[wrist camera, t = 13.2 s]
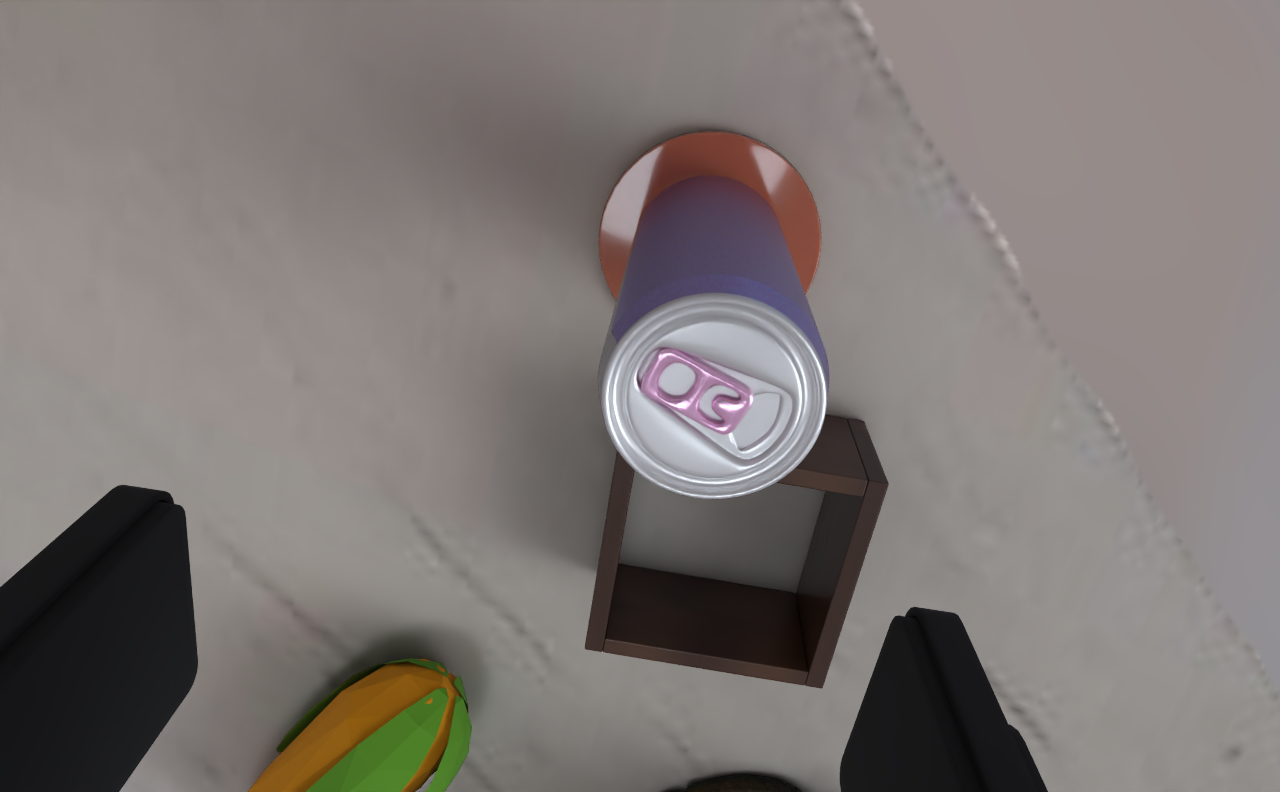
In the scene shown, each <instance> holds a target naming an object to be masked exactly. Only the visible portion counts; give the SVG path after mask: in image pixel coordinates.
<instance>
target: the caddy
mask: <svg viewBox="0 0 1280 792" xmlns="http://www.w3.org/2000/svg"><path fill="white" fill-rule="evenodd" d="M633 476H634V469H633V468H632V467H631V466H630V465H629V464H628V463H627V462H626V461H625V460H624V458H623V457H622V456H621V455H620V453H619V452H618V450H617V454H616V460H615V466H614V472H613V479H612V485H611V491H610V497H609V503H608V509H607V515H606V521H605V527H604V533H603V539H602V546H601V552H600V558H599V564H598V570H597V576H596V582H595V588H594V594H593V600H592V606H591V612H590V619H589V625H588V631H587V637H586V643H585V649H587V650H593V651H599V652H602V651H603V652H605V653H611V654H617V655H623V656H630V657H636V658H642V659H648V660H654V661H660V662H666V663H672V664H678V665H684V666H690V667H696V668H702V669H708V670H714V671H720V672H726V673H732V674H738V675H744V676H750V677H756V678H762V679H769V680H775V681H781V682H787V683H793V684H799V685H806V686H810V687H816V688H823V685H824V682H825V679H826V676H827V672H828V669H829V666H830V663H831V660H832V657H833V654H834V651H835V648H836V645H837V642H838V639H839V636H840V632H841V629H842V626H843V623H844V620H845V617H846V614H847V611H848V608H849V605H850V602H851V599H852V595H853V592H854V589H855V586H856V583H857V580H858V577H859V574H860V571H861V568H862V565H863V562H864V559H865V555H866V552H867V549H868V546H869V543H870V540H871V537H872V534H873V531H874V528H875V525H876V522H877V519H878V515H879V512H880V509H881V506H882V503H883V500H884V497H885V494H886V491H887V488H888V485H889V484H888V481H887V479H886V476H885V473H884V471H883V468H882V466H881V463H880V461H879V458H878V456H877V453H876V451H875V448H874V445H873V443H872V440H871V438H870V435H869V433H868V430H867V428H866V425H865V423H864V421H859V420H853V419H846V418H841V417H835V416H829V415H825V418H824V422H823V426H822V428H821V431H820V434H819V436H818V438H817V440H816V442H815V443H814V445H813V447H812V448H811V450H810V451H809V453H808V454H807V455H806V457H805V458H804V459H803V460H802V461H801V463H800V464H799V465H798V466H797V467H796V468H795V469H793V470H792V471H791V472H790V473H789V474H787V475H786V476H785V477H783V478H782V479H780V480H779V481H777V482H776V483H782V484H788V485H794V486H800V487H806V488H812V489H818V490H824V491H826V493H825V496H824V500H823V503H822V507H821V510H820V513H819V517H818V520H817V524H816V527H815V531H814V534H813V538H812V541H811V545H810V548H809V551H808V555H807V558H806V562H805V565H804V569H803V572H802V576H801V579H800V583H799V586H798V589H797V593H796V594H794V593H788V592H782V591H776V590H770V589H764V588H758V587H752V586H746V585H740V584H734V583H728V582H721V581H715V580H709V579H703V578H697V577H691V576H685V575H679V574H673V573H667V572H661V571H655V570H649V569H643V568H637V567H631V566H625V565H619V564H618V561H619V555H620V550H621V544H622V538H623V533H624V527H625V521H626V516H627V510H628V504H629V499H630V493H631V487H632V482H633Z"/></svg>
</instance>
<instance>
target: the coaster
mask: <svg viewBox="0 0 1280 792" xmlns="http://www.w3.org/2000/svg"><path fill="white" fill-rule="evenodd" d="M705 175H715V176H723V177H728V178H731V179H734V180H737V181H740V182H742V183H744V184H746V185H748V186H749V187H751V188H752V189H754V190H755V191H756V192H758V193H759V194H760V195H761V196H762V197H763V198H764V199H765V200H766V201H767V203H768V204H769V205H770V206H771V208H772V209H773V211H774V213H775V215H776V217H777V219H778V221H779V224H780V227H781V229H782V232H783V235H784V238H785V240H786V243H787V246H788V249H789V251H790V254H791V257H792V260H793V263H794V265H795V268H796V271H797V274H798V276H799V279H800V282H801V285H802V287H803V290H804V293H805V295H806V293H807V291H808V289H809V287H810V285H811V283H812V281H813V279H814V276H815V273H816V270H817V267H818V262H819V257H820V251H821V229H820V220H819V216H818V212H817V208H816V205H815V202H814V200H813V197H812V194H811V193H810V191H809V189H808V187H807V185H806V183H805V182H804V180H803V179H802V177H801V176H800V175H799V173H798V172H797V170H796V169H795V168H794V167H793V166H792V165H791V164H790V163H789V162H788V161H787V160H786V159H785V158H784V157H783V156H782V155H780V154H779V153H778V152H776V151H775V150H774V149H772V148H771V147H769V146H767V145H765V144H764V143H762V142H760V141H758V140H755V139H753V138H750V137H748V136H745V135H741V134H737V133H733V132H725V131H698V132H692V133H686V134H682V135H679V136H676V137H673V138H670V139H668V140H666V141H664V142H662V143H659V144H657V145H656V146H654V147H653V148H651V149H649V150H648V151H646V152H645V153H644V154H642V155H641V156H640V157H639V158H638V159H636V160H635V161H634V162H633V163H632V164H631V165H630V166H629V167H628V169H627V170H626V171H625V172H624V173H623V174H622V176H621V177H620V179H619V180H618V182H617V183H616V185H615V186H614V188H613V190H612V192H611V194H610V196H609V198H608V200H607V203H606V206H605V209H604V212H603V215H602V220H601V225H600V233H599V253H600V260H601V265H602V270H603V273H604V276H605V279H606V282H607V284H608V286H609V289H610V291H611V293H612V295H613V296H614V298H615V299H616V300H617V297H618V293H619V290H620V286H621V282H622V279H623V275H624V272H625V268H626V264H627V261H628V257H629V253H630V250H631V246H632V243H633V239H634V235H635V232H636V229H637V225H638V223H639V220H640V218H641V216H642V214H643V213H644V211H645V210H646V208H647V207H648V205H649V204H650V203H651V202H652V201H653V199H654V198H655V197H656V196H657V195H659V194H660V193H661V192H662V191H664V190H665V189H666V188H668V187H670V186H671V185H673V184H675V183H677V182H679V181H682V180H685V179H688V178H692V177H696V176H705Z"/></svg>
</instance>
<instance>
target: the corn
mask: <svg viewBox="0 0 1280 792" xmlns="http://www.w3.org/2000/svg"><path fill="white" fill-rule="evenodd" d="M471 729H472V726H471V723H470V719H469V716H468V704H467V700H466V696H465V692H464V688H463V684H462V680H461V676H460V677H458V678H457V677H455V676H454V675H452V674H451V673H449V672H448V671H447V670H446V668H445V667H444V665H443V664H442V663H440V662H433V661H429V660H427V659H414V658H408V659H403V660H398V661H393V662H388V663H383V664H378V665H376V666H373V667H371V668H369V669H367V670H364V671H362V672H360V673H358V674H355V675H353V676H352V677H351V678H349V679H348V680H347V681H346V682H344V683H343V684H342V685H340V686H339V687H338V688H337V689H335V690H334V691H333V692H332V693H330V694H329V695H328V696H326V697H325V698H324V699H323V700H321V701H320V702H319V703H318V704H316V705H315V706H314V707H312V708H311V709H310V710H309V711H308V712H307V714H306V715H305V716H304V717H303V718H302V719H301V720H300V721H299V722H298V723H297V724H296V725H295V726H294V727H293V728H292V729H291V730H290V731H289V733H288V734H287V735H286V736H285V737H284V739H283V740H282V741H281V743H280V744H279V746H278V747H277V748H276V749H277V752H282V753H281V754H280V755H279V756H278V757H277V758H276V759H275V760H274V761H273V762H272V763H271V764H270V765H269V766H268V767H267V768H266V769H265V770H264V772H263V773H262V774H261V776H260V777H259V778H258V779H257V781H256V782H255V783H254V784H253V786H252V787H251V788H250V790H249V791H248V792H415V791H417V790H418V789H419V788H421V786H422V785H423V784H424V783H425V782H426V781H427V779H428V778H429V777H430V776H431V775H432V774H433V773H434V772H436V771H437V772H436V774H435V777H434V779H433V781H432V782H431V784H430V786H429V787H428V789H427V791H426V792H445V790H446V789H447V787H448V786H449V784H450V783H451V782H452V780H453V779H454V777H455V776H456V774H457V773H458V771H459V769H460V767H461V765H462V764H463V762H464V760H465V758H466V756H467V754H468V752H469V744H470V737H471Z"/></svg>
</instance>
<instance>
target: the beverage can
mask: <svg viewBox="0 0 1280 792" xmlns="http://www.w3.org/2000/svg"><path fill="white" fill-rule="evenodd" d="M598 388H599V396H600V401H601V405H602V412H603V417H604V421H605V425H606V428H607V431H608V433H609V436H610V438H611V440H612V442H613V444H614V445H615V447H616V449H617V450H618V452H619V453H620V455H621V456H622V457H623V458H624V460H625V461H626V462H627V463H628V464H629V465H630V466H631V467H632V468H633V469H634V470H635V471H636V472H637V473H639V474H640V475H641V476H643V477H644V478H645V479H647V480H648V481H650V482H652V483H653V484H655V485H657V486H659V487H661V488H663V489H665V490H668V491H670V492H673V493H676V494H679V495H683V496H687V497H692V498H699V499H728V498H735V497H740V496H744V495H748V494H751V493H754V492H757V491H759V490H762V489H764V488H766V487H768V486H770V485H772V484H774V483H776V482H777V481H779V480H780V479H782V478H783V477H785V476H786V475H787V474H789V473H790V472H791V471H792V470H793V469H795V468H796V467H797V466H798V465H799V464H800V463H801V461H802V460H803V459H804V458H805V457H806V455H807V454H808V453H809V451H810V450H811V448H812V447H813V445H814V443H815V442H816V440H817V438H818V436H819V434H820V431H821V428H822V426H823V422H824V418H825V414H826V408H827V397H828V391H829V366H828V360H827V356H826V352H825V348H824V346H823V343H822V340H821V337H820V334H819V332H818V329H817V326H816V323H815V321H814V318H813V315H812V312H811V310H810V307H809V304H808V301H807V299H806V296H805V293H804V290H803V287H802V285H801V282H800V279H799V276H798V274H797V271H796V268H795V265H794V263H793V260H792V257H791V254H790V251H789V249H788V246H787V243H786V240H785V238H784V235H783V232H782V229H781V227H780V224H779V221H778V219H777V217H776V215H775V213H774V211H773V209H772V208H771V206H770V205H769V204H768V203H767V201H766V200H765V199H764V198H763V197H762V196H761V195H760V194H759V193H758V192H756V191H755V190H754V189H752V188H751V187H749V186H748V185H746V184H744V183H742V182H740V181H737V180H734V179H731V178H728V177H723V176H715V175H705V176H696V177H692V178H688V179H685V180H682V181H679V182H677V183H675V184H673V185H671V186H670V187H668V188H666V189H665V190H664V191H662V192H661V193H660V194H659V195H657V196H656V197H655V198H654V199H653V201H652V202H651V203H650V204H649V205H648V207H647V208H646V210H645V211H644V213H643V214H642V216H641V218H640V220H639V223H638V225H637V229H636V232H635V235H634V239H633V243H632V246H631V250H630V253H629V257H628V261H627V264H626V268H625V272H624V275H623V279H622V282H621V286H620V290H619V293H618V297H617V300H616V304H615V308H614V311H613V315H612V319H611V322H610V326H609V329H608V333H607V337H606V340H605V344H604V348H603V351H602V355H601V359H600V364H599V372H598Z"/></svg>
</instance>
